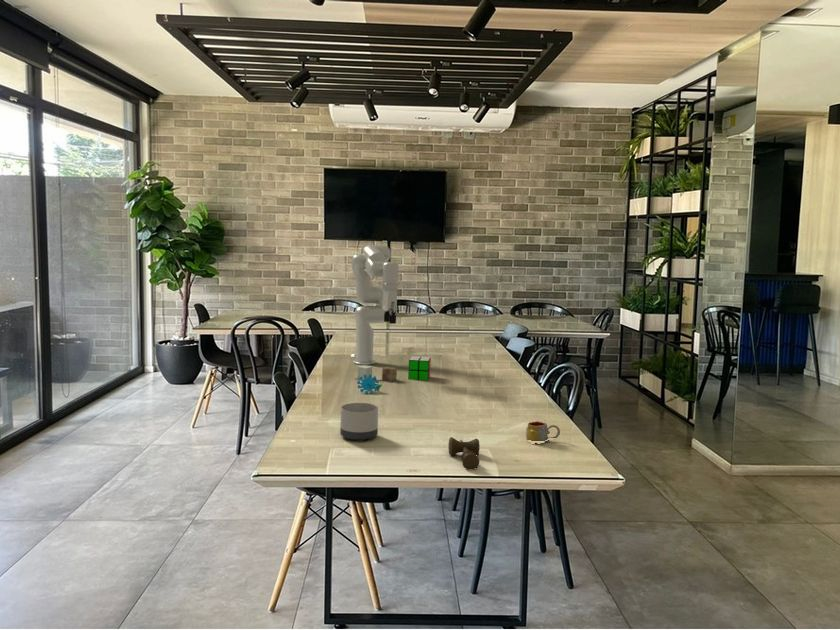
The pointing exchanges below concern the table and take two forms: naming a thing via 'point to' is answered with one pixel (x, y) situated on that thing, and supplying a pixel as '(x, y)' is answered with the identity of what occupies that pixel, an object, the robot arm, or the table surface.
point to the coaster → (390, 382)
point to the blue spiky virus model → (369, 384)
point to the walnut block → (389, 374)
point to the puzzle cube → (419, 368)
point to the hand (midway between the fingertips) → (389, 322)
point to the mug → (539, 431)
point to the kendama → (466, 451)
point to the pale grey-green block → (364, 371)
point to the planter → (359, 421)
